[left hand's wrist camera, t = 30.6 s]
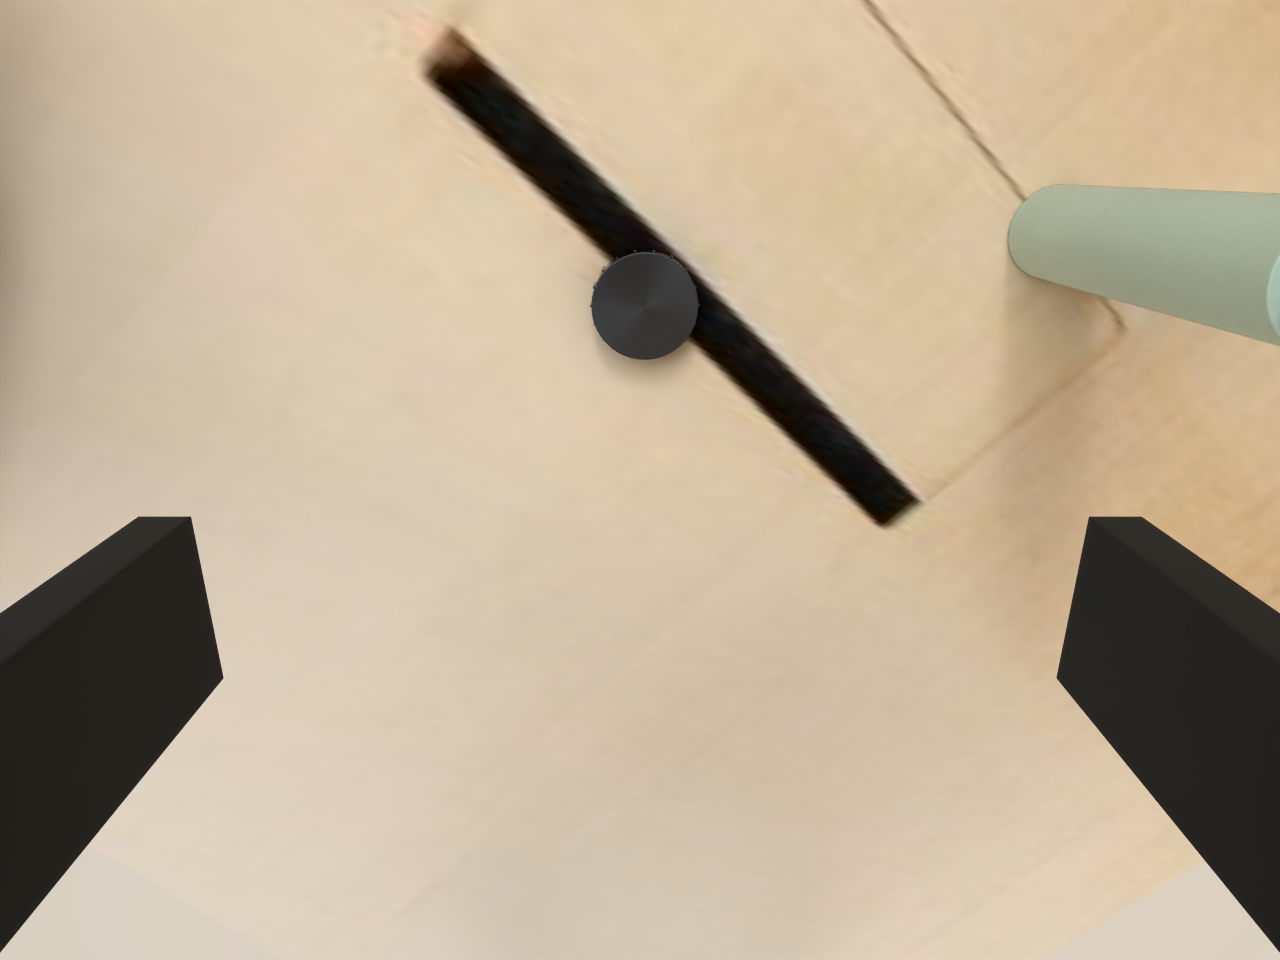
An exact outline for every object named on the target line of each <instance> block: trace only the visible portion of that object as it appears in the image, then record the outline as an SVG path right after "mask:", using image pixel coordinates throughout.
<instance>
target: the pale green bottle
mask: <svg viewBox="0 0 1280 960" xmlns="http://www.w3.org/2000/svg"><path fill="white" fill-rule="evenodd" d="M1008 245H1009V251H1010V254H1011V256H1012V258H1013V260H1014V262H1015V263H1016V265H1017V266H1018V267H1019V268H1020V269H1021V270H1022V271H1023V272H1025V273H1026V274H1028V275H1030V276H1033V277H1035V278H1039V279H1043V280H1046V281H1050V282H1053V283H1057V284H1060V285H1064V286H1067V287H1071V288H1075V289H1078V290H1082V291H1085V292H1089V293H1092V294H1096V295H1099V296H1103V297H1107V298H1110V299H1114V300H1117V301H1121V302H1124V303H1128V304H1131V305H1135V306H1139V307H1142V308H1146V309H1149V310H1153V311H1156V312H1160V313H1163V314H1167V315H1171V316H1174V317H1178V318H1181V319H1185V320H1188V321H1192V322H1195V323H1199V324H1203V325H1206V326H1210V327H1213V328H1217V329H1220V330H1224V331H1227V332H1231V333H1235V334H1238V335H1242V336H1245V337H1249V338H1252V339H1256V340H1259V341H1263V342H1267V343H1270V344H1274V345H1277V346H1280V194H1276V193H1253V192H1230V191H1206V190H1183V189H1159V188H1136V187H1113V186H1089V185H1066V184H1060V185H1052V186H1048V187H1046V188H1043V189H1041V190H1039V191H1037V192H1035V193H1034V194H1032V195H1031V196H1030V197H1029V198H1027V199H1026V200H1025V201H1024V202H1023V203H1022V205H1021V206H1020V207H1019V209H1018V210H1017V212H1016V213H1015V215H1014V217H1013V219H1012V222H1011V225H1010V229H1009V235H1008Z"/></svg>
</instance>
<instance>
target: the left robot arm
mask: <svg viewBox="0 0 1280 960" xmlns="http://www.w3.org/2000/svg"><path fill="white" fill-rule="evenodd" d="M222 679H223V673H222V668H221V663H220V658H219V654H218V649H217V644H216V639H215V634H214V629H213V624H212V619H211V614H210V609H209V604H208V599H207V594H206V589H205V584H204V579H203V574H202V569H201V564H200V559H199V554H198V549H197V544H196V539H195V535H194V530H193V525H192V520H191V517H137V518H136V519H135V520H133V521H132V522H130V523H129V524H127V525H126V526H125V527H123V528H122V529H120V530H119V531H117V532H116V533H115V534H113V535H112V536H110V537H109V538H107V539H106V540H105V541H103V542H102V543H100V544H99V545H97V546H96V547H95V548H93V549H92V550H90V551H89V552H87V553H86V554H84V555H83V556H82V557H80V558H79V559H77V560H76V561H74V562H73V563H72V564H70V565H69V566H67V567H66V568H64V569H63V570H62V571H60V572H59V573H57V574H56V575H54V576H53V577H52V578H50V579H49V580H47V581H46V582H44V583H43V584H42V585H40V586H39V587H37V588H36V589H34V590H33V591H32V592H30V593H29V594H27V595H26V596H24V597H23V598H22V599H20V600H19V601H17V602H16V603H14V604H13V605H12V606H10V607H9V608H7V609H6V610H4V611H3V612H1V613H0V952H1V951H2V950H3V948H4V947H5V946H6V945H7V943H8V942H9V941H10V940H11V939H12V937H13V936H14V935H15V934H16V932H17V931H18V930H19V929H20V927H21V926H22V925H23V924H24V923H25V921H26V920H27V919H28V918H29V916H30V915H31V914H32V913H33V911H34V910H35V909H36V908H37V907H38V905H39V904H40V903H41V902H42V900H43V899H44V898H45V897H46V896H47V894H48V893H49V892H50V891H51V889H52V888H53V887H54V886H55V884H56V883H57V882H58V881H59V880H60V878H61V877H62V876H63V875H64V873H65V872H66V871H67V870H68V868H69V867H70V866H71V865H72V864H73V862H74V861H75V860H76V859H77V857H78V856H79V855H80V854H81V852H82V851H83V850H84V849H85V848H86V846H87V845H88V844H89V843H90V841H91V840H92V839H93V838H94V837H95V835H96V834H97V833H98V832H99V830H100V829H101V828H102V827H103V825H104V824H105V823H106V822H107V821H108V819H109V818H110V817H111V816H112V814H113V813H114V812H115V811H116V810H117V808H118V807H119V806H120V805H121V803H122V802H123V801H124V800H125V798H126V797H127V796H128V795H129V794H130V792H131V791H132V790H133V789H134V787H135V786H136V785H137V784H138V782H139V781H140V780H141V779H142V778H143V776H144V775H145V774H146V773H147V771H148V770H149V769H150V768H151V767H152V765H153V764H154V763H155V762H156V760H157V759H158V758H159V757H160V755H161V754H162V753H163V752H164V751H165V749H166V748H167V747H168V746H169V744H170V743H171V742H172V741H173V739H174V738H175V737H176V736H177V735H178V733H179V732H180V731H181V730H182V728H183V727H184V726H185V725H186V724H187V722H188V721H189V720H190V719H191V717H192V716H193V715H194V714H195V712H196V711H197V710H198V709H199V708H200V706H201V705H202V704H203V703H204V701H205V700H206V699H207V698H208V696H209V695H210V694H211V693H212V692H213V690H214V689H215V688H216V687H217V685H218V684H219V683H220V682H221V680H222ZM1057 679H1058V681H1059V682H1060V683H1061V684H1062V685H1063V687H1064V688H1065V689H1066V690H1067V692H1068V693H1069V694H1070V695H1071V696H1072V698H1073V699H1074V700H1075V701H1076V703H1077V704H1078V705H1079V706H1080V708H1081V709H1082V710H1083V711H1084V712H1085V714H1086V715H1087V716H1088V717H1089V719H1090V720H1091V721H1092V722H1093V724H1094V725H1095V726H1096V727H1097V728H1098V730H1099V731H1100V732H1101V733H1102V735H1103V736H1104V737H1105V738H1106V739H1107V741H1108V742H1109V743H1110V744H1111V746H1112V747H1113V748H1114V749H1115V751H1116V752H1117V753H1118V754H1119V755H1120V757H1121V758H1122V759H1123V760H1124V762H1125V763H1126V764H1127V765H1128V767H1129V768H1130V769H1131V770H1132V771H1133V773H1134V774H1135V775H1136V776H1137V778H1138V779H1139V780H1140V781H1141V782H1142V784H1143V785H1144V786H1145V787H1146V789H1147V790H1148V791H1149V792H1150V794H1151V795H1152V796H1153V797H1154V798H1155V800H1156V801H1157V802H1158V803H1159V805H1160V806H1161V807H1162V808H1163V810H1164V811H1165V812H1166V813H1167V814H1168V816H1169V817H1170V818H1171V819H1172V821H1173V822H1174V823H1175V824H1176V825H1177V827H1178V828H1179V829H1180V830H1181V832H1182V833H1183V834H1184V835H1185V837H1186V838H1187V839H1188V840H1189V841H1190V843H1191V844H1192V845H1193V846H1194V848H1195V849H1196V850H1197V851H1198V853H1199V854H1200V855H1201V856H1202V857H1203V859H1204V860H1205V861H1206V862H1207V864H1208V865H1209V866H1210V867H1211V868H1212V870H1213V871H1214V872H1215V873H1216V875H1217V876H1218V877H1219V878H1220V880H1221V881H1222V882H1223V883H1224V884H1225V886H1226V887H1227V888H1228V889H1229V891H1230V892H1231V893H1232V894H1233V896H1234V897H1235V898H1236V899H1237V900H1238V902H1239V903H1240V904H1241V905H1242V907H1243V908H1244V909H1245V910H1246V911H1247V913H1248V914H1249V915H1250V916H1251V918H1252V919H1253V920H1254V921H1255V923H1256V924H1257V925H1258V926H1259V927H1260V929H1261V930H1262V931H1263V932H1264V934H1265V935H1266V936H1267V937H1268V939H1269V940H1270V941H1271V942H1272V943H1273V945H1274V946H1275V947H1276V948H1277V950H1278V951H1279V952H1280V613H1278V612H1277V611H1276V610H1274V609H1273V608H1271V607H1270V606H1268V605H1267V604H1266V603H1264V602H1263V601H1261V600H1260V599H1258V598H1257V597H1256V596H1254V595H1253V594H1251V593H1250V592H1248V591H1247V590H1246V589H1244V588H1243V587H1241V586H1240V585H1238V584H1237V583H1236V582H1234V581H1233V580H1231V579H1230V578H1228V577H1227V576H1226V575H1224V574H1223V573H1221V572H1220V571H1218V570H1217V569H1216V568H1214V567H1213V566H1211V565H1210V564H1208V563H1207V562H1206V561H1204V560H1203V559H1201V558H1200V557H1198V556H1197V555H1196V554H1194V553H1193V552H1191V551H1190V550H1188V549H1187V548H1185V547H1184V546H1183V545H1181V544H1180V543H1178V542H1177V541H1175V540H1174V539H1173V538H1171V537H1170V536H1168V535H1167V534H1165V533H1164V532H1163V531H1161V530H1160V529H1158V528H1157V527H1155V526H1154V525H1153V524H1151V523H1150V522H1148V521H1147V520H1145V519H1144V518H1143V517H1089V520H1088V525H1087V530H1086V535H1085V539H1084V544H1083V549H1082V554H1081V559H1080V564H1079V569H1078V574H1077V579H1076V584H1075V589H1074V594H1073V599H1072V604H1071V609H1070V614H1069V619H1068V624H1067V629H1066V634H1065V639H1064V644H1063V649H1062V654H1061V658H1060V663H1059V668H1058V673H1057Z"/></svg>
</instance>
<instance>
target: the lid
mask: <svg viewBox="0 0 1280 960" xmlns="http://www.w3.org/2000/svg"><path fill="white" fill-rule="evenodd" d="M687 271H688V270H687V268H686V266H684V267H683V266H682V265H681V264H680V263H679V262H678V261H677V260H676V259H675V258H673V256H672V254H670V255H668V254H666V253H664V252H661V251H658V250H655V248H652V249H636V248H634V250H631V251H628V252H625V253H623V254H621V255H619V254H618V255H617V256H616V258H615V259H613V260H612V261H611V262H610V263H609V264H608V265H607V266H606V267H605V266H604V267H603V269H602V273H601V274H600V276H599V278H598V281H597V283H596V282H595V284H594V286H593V288H594V292H593V296H592V302H591V305H590V307H592V316H593V320H594V326H596V328H597V331H598V333H599V334H600V336H601V337H602V339H603V340H604V341H605V342H606V343H607V344H608V345H609V346H610V347H611V348H612V349H614V350H615V351H616V352H618V353H620V354H622V355H624V356H627V357H629V358H634V359H641V360H650V359H656V358H660V357H663V356H665V355H667V354H670V353H671V352H673V351H675V350H676V349H677V348H678V347H680V346H681V345H682V344H683V343H684V342H685V341H686V340H687V338H688V337H689V335H690V333H691V332H692V330H693V328H694V325H695V324H696V319H697V313H698V307H699V303H698V299H697V293H696V290H695V288H697V287H696V285H695V283H694V282H692V280H691V278H690V276H689V274H688V272H687Z"/></svg>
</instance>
